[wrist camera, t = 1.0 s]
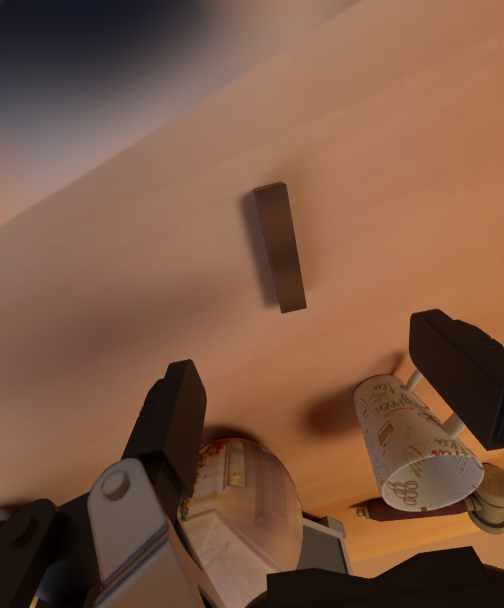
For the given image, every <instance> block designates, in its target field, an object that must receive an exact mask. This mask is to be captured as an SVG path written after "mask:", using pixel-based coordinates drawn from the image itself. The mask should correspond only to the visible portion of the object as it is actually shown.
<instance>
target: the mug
mask: <svg viewBox="0 0 504 608" xmlns="http://www.w3.org/2000/svg"><path fill="white" fill-rule="evenodd" d="M422 377H423V375H422V373H421V372H420V371H419V370H418V369H416V370H415V371H414V373H413V374H412V376H411V377H410V379H409V380H408V382H407V384H405V383H404V382H403V381H402V380H400V379H399V378H397V377H394V376H390V375H380V376H375V377H372V378H370V379H368V380H366V381H364V382H363V383H362V384H360V385H359V386H358V388H357V389H356V391H355V393H354V396H353V402H354V406H355V410H356V413H357V416H358V420H359V423H360V427H361V430H362V433H363V437H364V440H365V444H366V447H367V450H368V454H369V457H370V461H371V464H372V467H373V471H374V474H375V478H376V481H377V484H378V488H379V490H380V493H381V495H382V498H383V499H384V501H385V502H386V503H387V504H389V505H390V506H392V507H394V508H396V509H399V510H404V511H428V510H434V509H438V508H442V507H445V506H448V505H451V504H453V503H456V502H458V501H460V500H462V499H463V498H465V497H467V496H468V495H469V494H471V493H472V492H473V491H474V490H475V489H476V488H477V487H478V486H479V485H480V483H481V482H482V480H483V477H484V468H483V466H482V464H481V462H480V461H479V460H478V458H477V457H476V456H475V455H474V454H473V453H472V452H471V451H470V450H469V449H468V447H467V446H466V445H465V444H464V443H463V442H462V441H461V440H460V439H459V438H458V437H457V435H458V434H459V433H460V432H461V431H462V430H463V429H464V428H465V427H466V425H465V424H464V423H463V422H462V421H461V420H460V418H459V417H458V416H457V415H456V414H455V412H454V413H453V414H452V415H451V416H450V417H449V418H448V419H447V420H446V421H445V422H444V423H443V422H442V421H441V420H440V419H439V418H438V417H437V416H436V415H435V414H434V413H433V412H432V411H431V410H430V409H429V408H428V407H427V406H426V405H425V404H424V403H423V402H422V401H421V400H420V398H419V397H418V396H417V395H416V394H415V393H414V392H413V391H412V389H413V388H414V387H415V386H416V385H417V383H418V382H419V381H420V380H421V378H422Z"/></svg>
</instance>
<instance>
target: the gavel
mask: <svg viewBox="0 0 504 608" xmlns="http://www.w3.org/2000/svg"><path fill="white" fill-rule="evenodd" d="M482 466H483V468H484V477H483V480H482V482H481V483H480V485H479V486H478V487H477V488H476V489H475V490H474V491H473V492H472V493H471V494H469V495H468V496H467V497H465V498H463V499H462V500H460V501H458V502H456V503H453V504H451V505H448V506H445V507H442V508H438V509H434V510H428V511H404V510H399V509H396V508H394V507H392V506H390V505H389V504H387V503H386V502H385V501H384V500H377V501H373V502H371V503H370V504H368V505H366V506H363V509H357V510H356V513H357V515H358V516H359V517H362V516H365V517H366V518H367V519H373V520H377V521H380V522H382V521H393V520H403V519H413V518H423V517H434V516H444V515H454V514H461V513H464V512H468V515H469V517H470V518H471V520H472V521H473V522H474V524H475V525H476V526H478V527H479V528H480V529H482V530H483V531H485V532H488V533H490V534H502V533H504V470H503V469H501V468H499V467H497V466H495V465H491V464H482Z"/></svg>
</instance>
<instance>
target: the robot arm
mask: <svg viewBox="0 0 504 608" xmlns="http://www.w3.org/2000/svg"><path fill="white" fill-rule="evenodd" d="M409 354H410V357H411V359H412V362H413V363H414V365H415V366H416V367H417V369H418V370H419V371H420V372H421V373H422V375H423V376H424V377H425V378H426V379H427V380H428V382H429V383H430V384H431V385H432V386H433V388H434V389H435V390H436V391H437V392H438V393H439V395H440V396H441V397H442V398H443V399H444V401H445V402H446V403H447V404H448V405H449V407H450V408H451V409H452V410H453V411H454V412H455V414H456V415H457V416H458V417H459V418H460V420H461V421H462V422H463V423H464V424H465V425H466V427H467V428H468V429H469V430H470V431H471V433H472V434H473V435H474V436H475V437H476V439H477V440H478V441H479V442H480V443H481V444H482V446H483V447H484V448H485V449H486V450H487V451H490V450H496V449H502V448H504V347H503V346H502V344H500V343H499V342H497V341H496V340H495V339H491V337H490V336H489V335H487V334H486V333H485V332H483V331H482V330H480V329H479V328H478V327H476V326H473V325H471V324H468V323H466V322H463V321H461V320H453V319H451V318H450V317H449V316H447V315H446V314H445V313H443V312H442V311H441V310H439V309H432V310H427V311H423V312H418V313H413V314H412V315H411V318H410V334H409ZM206 405H207V398H206V392H205V388H204V386H203V384H202V381H201V379H200V377H199V374H198V372H197V370H196V367H195V365H194V363H193V361H192V360H191V359H188V360H183V361H178V362H173V363H170V364H169V366H168V369H167V371H166V374H165V377H164V379H159V380H158V381H157V382H156V383H155V384H154V385H153V387H152V388H151V389H150V390H149V392H148V394H147V397H146V399H145V402H144V406H142V409H141V411H140V414H139V415H140V416H139V417H138V419H137V421H136V423H135V426H134V428H133V431H132V433H131V436H130V438H129V441H128V443H127V445H126V448H125V450H124V453H123V455H122V458H121V460H120V461H118V462H116V463H114V464H113V465H111V466H110V467H108V468H107V469H106V470H105V471H104V472H103V473H102V474H101V475H100V476H99V477H98V479H97V480H96V481H95V483H94V484H93V486H92V488H91V490H90V491H89V492H88V493H86V494H84V495H82V496H80V497H77V498H75V499H73V500H71V501H69V502H67V503H65V504H63V505H61V506H59V507H57V506H56V505H55V504H54V503H53V502H51V501H50V500H48V499H38V500H35V501H33V502H31V503H29V504H27V505H25V506H24V507H22V508H21V509H20V510H18V511H17V512H16V513H15V514H13V515H12V516H11V517H10V518H9V519H8V520H7V521H6V522H5V523H4V525H3V526H2V527H1V528H0V608H30V605H31V603H32V601H33V599H34V596H37V597H38V598H39V599H38V601H37V603H36V606H35V608H226V607H225V605H224V603H223V601H222V599H221V598H220V596H219V594H218V592H217V591H216V589H215V587H214V586H213V584H212V582H211V580H210V579H209V577H208V575H207V573H206V571H205V569H204V567H203V565H202V563H201V561H200V559H199V557H198V555H197V552H196V550H195V548H194V546H193V544H192V542H191V540H190V538H189V536H188V534H187V532H186V530H185V528H184V526H183V524H182V522H181V520H180V518H179V516H178V514H177V512H178V507H179V501H180V500H182V499H188V498H193V492H194V485H195V478H196V472H197V465H198V458H199V452H200V445H201V438H202V432H203V425H204V418H205V412H206ZM266 578H267V590H266V591H265V592H263V593H261V594H260V595H258V596H257V597H256V598H254V599H253V600H252V601H251V602H249V603H248V604H247V606H246V607H245V608H504V569H500V568H497V567H494V566H491V565H487V564H482V562H481V561H480V559H479V557H478V556H477V554H476V552H475V551H474V549H473V547H472V546H468V547H461V548H453V549H446V550H438V551H431V552H424V553H419V554H417V555H415V556H413V557H411V558H410V559H408V560H406V561H404V562H402V563H400V564H399V565H397V566H395V567H393V568H391V569H390V570H388V571H386V572H384V573H382V574H381V575H379V576H377V577H375V578H370V579H368V578H362V577H357V576H353V575H348V574H343V573H339V572H334V571H329V570H324V569H319V568H315V567H314V568H307V569H300V570H292V571H285V572H278V573H270V574H266ZM101 587H102V589H101ZM100 590H101V591H100Z"/></svg>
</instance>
